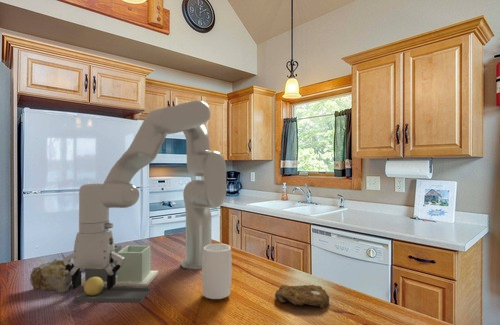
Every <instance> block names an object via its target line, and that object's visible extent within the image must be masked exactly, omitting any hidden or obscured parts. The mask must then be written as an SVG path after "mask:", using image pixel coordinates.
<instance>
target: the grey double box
mask: <svg viewBox="0 0 500 325" xmlns="http://www.w3.org/2000/svg"><path fill="white" fill-rule="evenodd" d="M114 245H115V244H114ZM151 248H152V247H151V245H126V246H125V247H123V248H122V245H120V244H119V245H118V244H117V245H115V253H117V254H119V255H121V256H123V257H124V258H125V261H124V263H123V264H122V267H121V268H120V269H119V270H118V271H117V272H116V283H115V285H114V286H113V287H149V285H150V284H151V282H152V281H153V280H154V279H155V278H156V277H157V275H158V274H159V270H151V264H152V263H151V256H152V255H151V252H152V251H151V250H152V249H151ZM117 263H118V261H117V260H115V262H114V263H113V264H114V265H115V266H116V265H117ZM84 270H85V271H84V272H85V273H84V274H85V275H84V277H81V285H80V286H79V287H84V285H85V283H86V281H87V280H88V279H90V278H92V277H99V278H101V279H102V280H103V282H104V287H107V276H108V275H109V273H108V272H107V271H106V270H105V269H84Z"/></svg>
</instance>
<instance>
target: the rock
mask: <svg viewBox="0 0 500 325" xmlns="http://www.w3.org/2000/svg"><path fill="white" fill-rule="evenodd" d="M29 281H30V285H31V287H32V288H33V289H34V290H41V291H52V290H53V291H56V292H58V293H65V292H68V291H69V290H70V288H71V284H72V275H70V272H69V271H68V270H67V269H66V265H65V264H64V262H63V259H62V260H60V259H58V260H57V259H56V258H54V260H52V261H49V262H46V263H42V264H40V265H38V267H37V266H35V267H34V268H32V271H31V272H30V278H29Z"/></svg>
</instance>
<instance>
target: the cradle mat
mask: <svg viewBox="0 0 500 325" xmlns="http://www.w3.org/2000/svg"><path fill="white" fill-rule="evenodd" d="M151 291H152V288H150V287H149V286H113V287H112V288H111V289H110V290H108V289H107V286H104V287H103V289H102V291H101V292H100V293H99V294H97V295H94V296H90V295H87V294H86V293H85V291H84V290H83V292H82V293H80V294H79V295H78V296H74V298H73V300H71V301H70V302H72V303H73V302H74V303H75V302H79V303H80V302H81V303H83V302H84V303H85V302H86V303H87V302H88V303H89V302H91V303H92V302H93V303H142V302H143V301H144V299H145V298H146V297H147V296H148V294H149V293H150V292H151Z"/></svg>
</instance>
